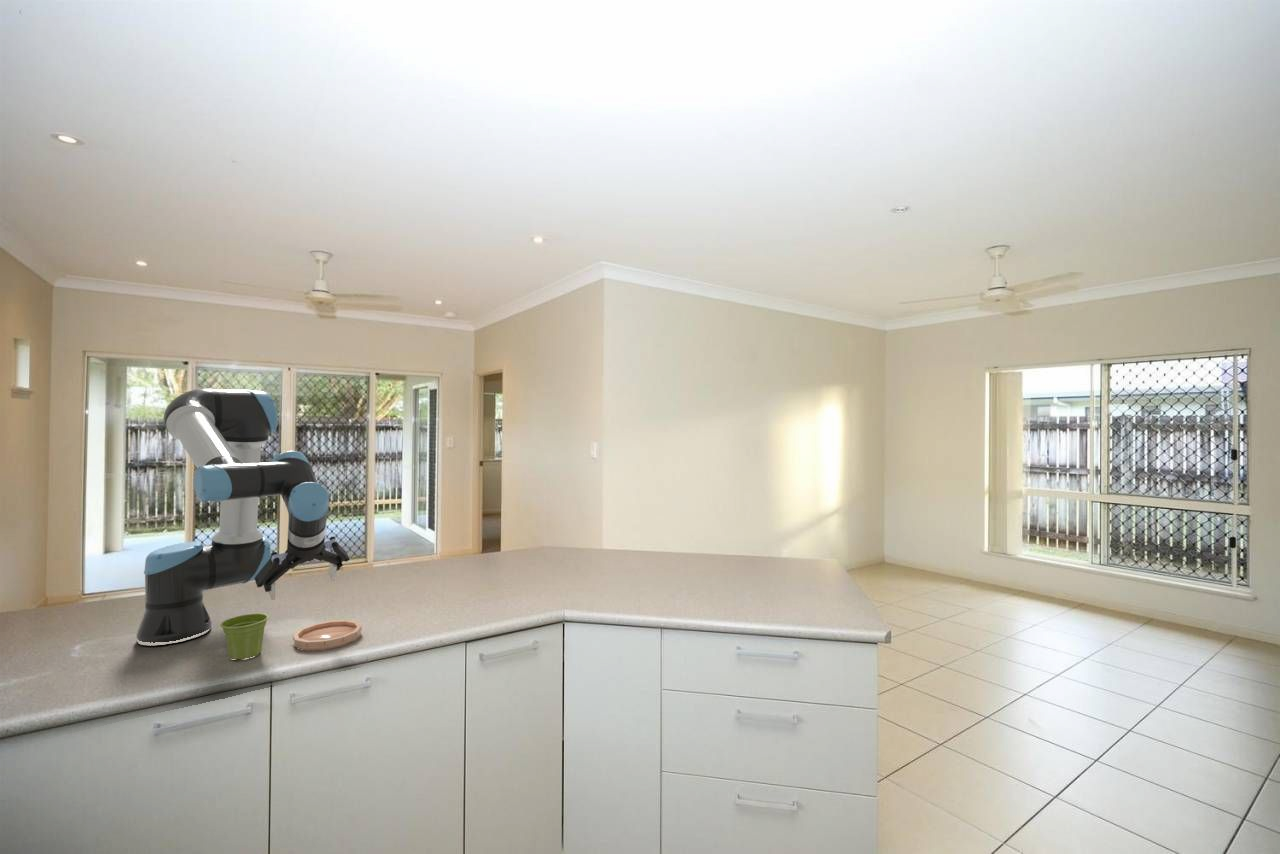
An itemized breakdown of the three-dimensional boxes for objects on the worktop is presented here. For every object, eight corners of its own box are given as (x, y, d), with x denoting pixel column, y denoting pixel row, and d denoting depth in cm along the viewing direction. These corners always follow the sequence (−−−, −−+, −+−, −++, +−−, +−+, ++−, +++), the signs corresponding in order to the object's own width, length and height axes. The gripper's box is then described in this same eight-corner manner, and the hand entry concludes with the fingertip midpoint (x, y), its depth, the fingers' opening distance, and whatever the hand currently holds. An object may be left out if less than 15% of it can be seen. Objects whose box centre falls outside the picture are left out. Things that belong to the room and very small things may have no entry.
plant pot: (229, 668, 129) (228, 630, 129) (214, 657, 135) (214, 621, 135) (275, 654, 137) (274, 618, 137) (259, 645, 143) (259, 610, 142)
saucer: (279, 645, 142) (279, 636, 142) (332, 625, 156) (332, 617, 156) (323, 654, 137) (323, 645, 137) (373, 633, 151) (373, 624, 151)
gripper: (247, 566, 123) (248, 616, 135) (368, 533, 140) (359, 581, 152) (238, 538, 126) (240, 590, 139) (357, 510, 143) (349, 558, 156)
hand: (302, 585), depth 146 cm, fingers open, 13 cm apart
